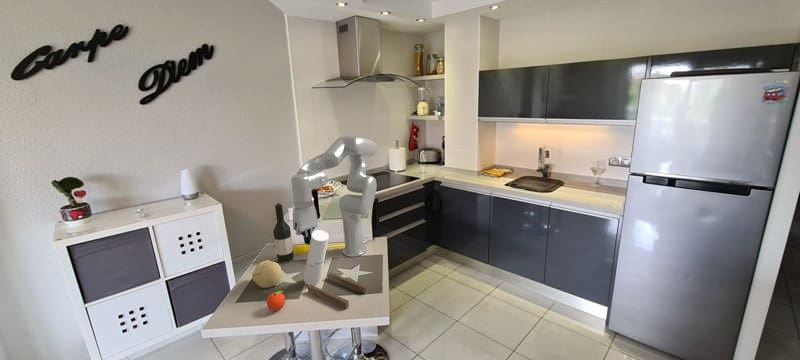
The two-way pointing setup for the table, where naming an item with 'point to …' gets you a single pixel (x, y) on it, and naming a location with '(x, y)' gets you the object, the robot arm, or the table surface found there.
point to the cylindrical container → (316, 257)
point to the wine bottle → (282, 237)
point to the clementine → (276, 301)
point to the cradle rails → (334, 298)
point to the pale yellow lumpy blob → (267, 274)
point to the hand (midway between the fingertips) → (308, 243)
